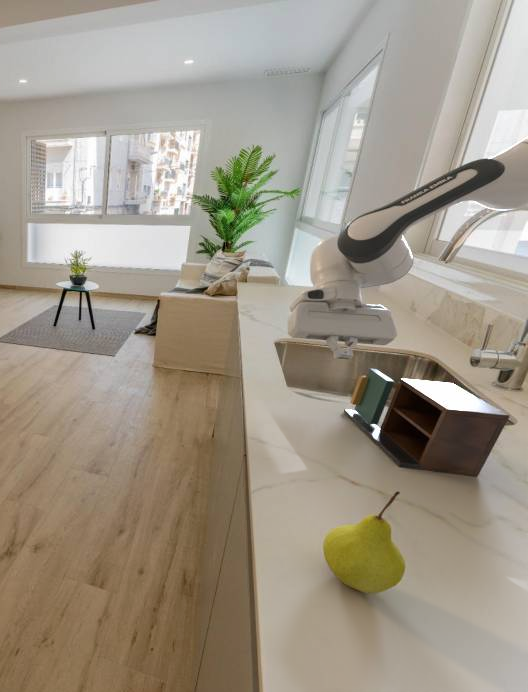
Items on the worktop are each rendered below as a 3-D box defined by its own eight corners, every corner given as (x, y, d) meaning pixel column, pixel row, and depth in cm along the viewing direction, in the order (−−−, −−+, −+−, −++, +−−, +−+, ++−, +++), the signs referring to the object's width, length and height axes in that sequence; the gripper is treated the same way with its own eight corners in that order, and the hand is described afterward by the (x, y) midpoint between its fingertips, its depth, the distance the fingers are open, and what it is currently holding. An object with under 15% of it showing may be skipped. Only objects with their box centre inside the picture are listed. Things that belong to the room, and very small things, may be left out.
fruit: (355, 614, 44) (396, 524, 39) (300, 562, 50) (331, 479, 45) (405, 601, 46) (451, 512, 41) (346, 552, 52) (380, 470, 47)
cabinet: (404, 419, 84) (426, 368, 80) (477, 476, 67) (510, 415, 63) (342, 412, 86) (360, 362, 82) (398, 466, 69) (425, 406, 65)
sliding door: (360, 410, 85) (376, 369, 81) (377, 425, 79) (394, 381, 76) (347, 409, 85) (362, 367, 82) (363, 423, 80) (379, 380, 76)
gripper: (379, 313, 97) (389, 368, 92) (282, 306, 100) (286, 359, 95) (398, 298, 91) (409, 356, 86) (294, 291, 95) (299, 347, 90)
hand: (343, 357), depth 91 cm, fingers closed
